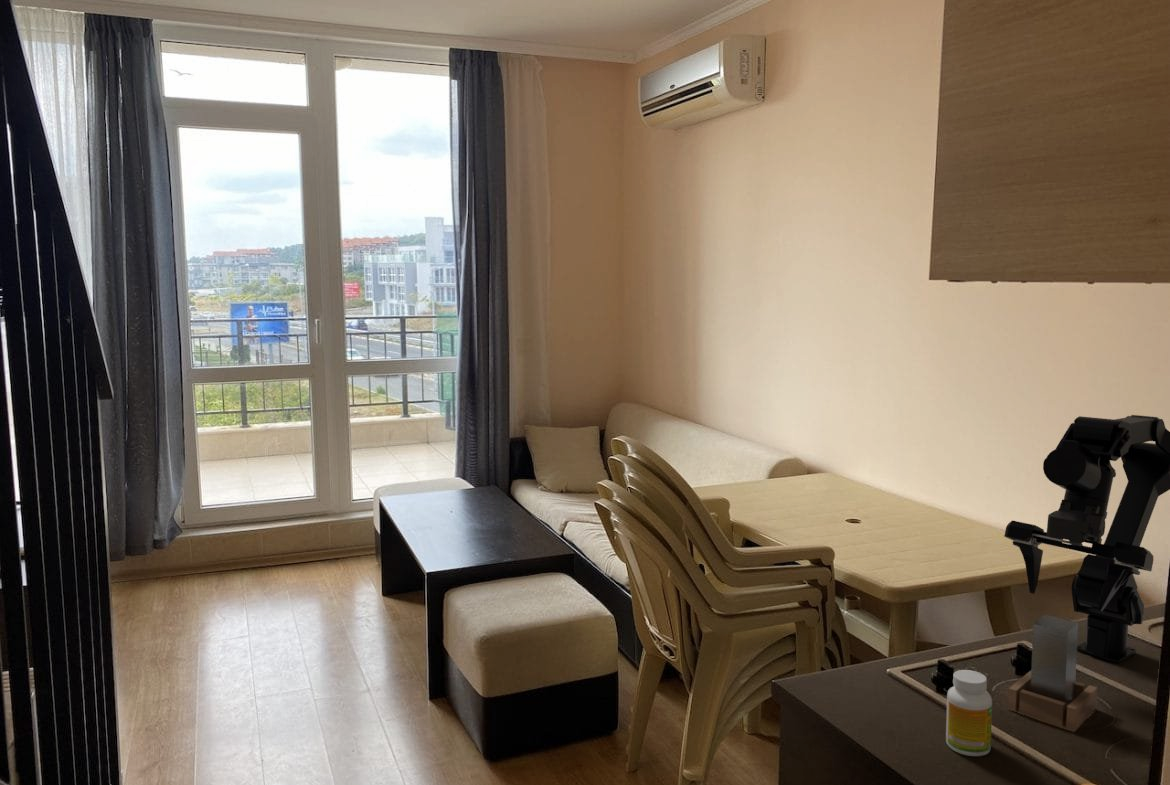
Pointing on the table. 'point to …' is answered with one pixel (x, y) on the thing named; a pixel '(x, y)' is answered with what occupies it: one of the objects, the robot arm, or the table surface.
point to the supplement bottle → (969, 714)
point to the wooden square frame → (1052, 704)
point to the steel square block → (1054, 658)
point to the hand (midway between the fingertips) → (1065, 602)
